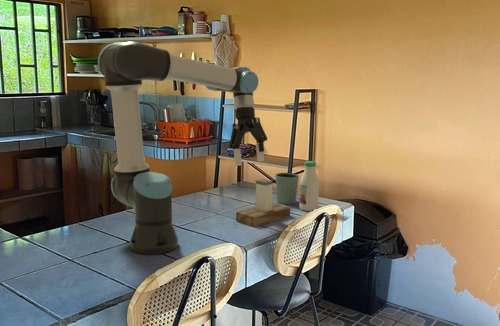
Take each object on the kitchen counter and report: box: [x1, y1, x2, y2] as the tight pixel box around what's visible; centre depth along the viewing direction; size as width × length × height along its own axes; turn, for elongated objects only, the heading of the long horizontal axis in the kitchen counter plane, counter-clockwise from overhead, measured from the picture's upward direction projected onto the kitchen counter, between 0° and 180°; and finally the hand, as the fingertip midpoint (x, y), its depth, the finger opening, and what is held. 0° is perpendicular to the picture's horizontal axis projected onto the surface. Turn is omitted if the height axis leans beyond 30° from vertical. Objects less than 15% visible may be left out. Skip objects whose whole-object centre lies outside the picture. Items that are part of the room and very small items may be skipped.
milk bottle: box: [298, 160, 320, 212], centre depth 201 cm, size 8×8×20 cm
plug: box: [255, 178, 274, 212], centre depth 188 cm, size 5×4×15 cm
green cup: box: [275, 172, 300, 205], centre depth 213 cm, size 10×10×12 cm
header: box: [235, 202, 291, 228], centre depth 189 cm, size 10×20×4 cm, turn 135°
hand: (249, 163), depth 185 cm, fingers open, 13 cm apart
